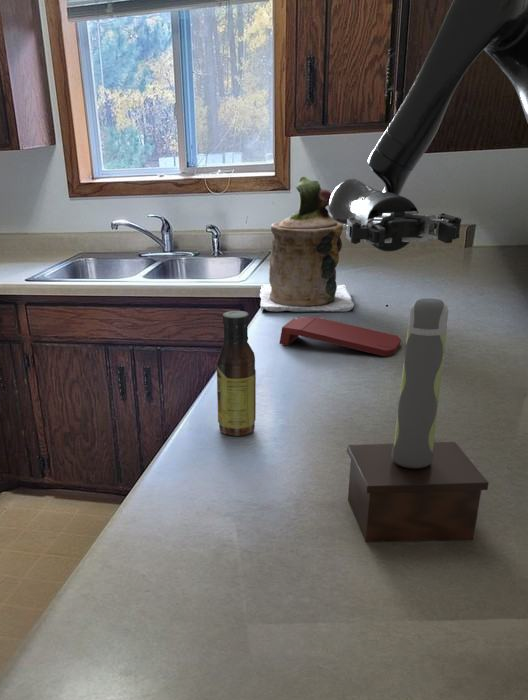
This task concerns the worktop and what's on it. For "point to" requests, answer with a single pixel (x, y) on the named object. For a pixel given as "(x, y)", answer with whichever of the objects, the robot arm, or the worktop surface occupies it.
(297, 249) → the cookie jar
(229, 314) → the sauce bottle
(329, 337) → the red bent slab
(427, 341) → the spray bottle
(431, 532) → the box
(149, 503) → the worktop surface
